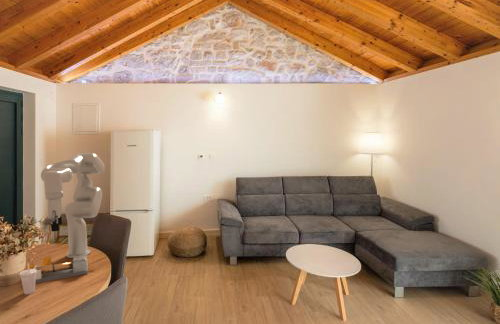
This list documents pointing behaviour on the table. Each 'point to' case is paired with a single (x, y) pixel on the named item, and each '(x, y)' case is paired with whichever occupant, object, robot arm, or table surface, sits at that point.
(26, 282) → the smoothie
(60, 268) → the tube
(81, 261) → the sleeve
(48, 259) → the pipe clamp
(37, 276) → the light grey u-shaped block
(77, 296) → the table surface
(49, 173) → the robot arm
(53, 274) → the board
